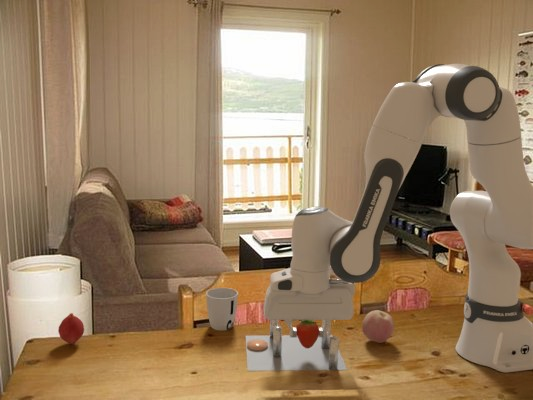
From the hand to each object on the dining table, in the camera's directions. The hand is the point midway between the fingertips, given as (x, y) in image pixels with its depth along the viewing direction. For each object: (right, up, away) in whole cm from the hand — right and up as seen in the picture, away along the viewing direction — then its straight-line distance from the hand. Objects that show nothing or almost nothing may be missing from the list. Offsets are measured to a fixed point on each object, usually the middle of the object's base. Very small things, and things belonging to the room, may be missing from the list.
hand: (307, 336), depth 127 cm
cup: (-21, -3, +18) cm, 28 cm away
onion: (-56, -4, +7) cm, 57 cm away
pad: (-11, -4, +6) cm, 14 cm away
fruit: (0, -3, +1) cm, 3 cm away
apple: (+18, -5, +12) cm, 23 cm away
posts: (-1, -5, +4) cm, 6 cm away
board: (-3, -6, +4) cm, 7 cm away
